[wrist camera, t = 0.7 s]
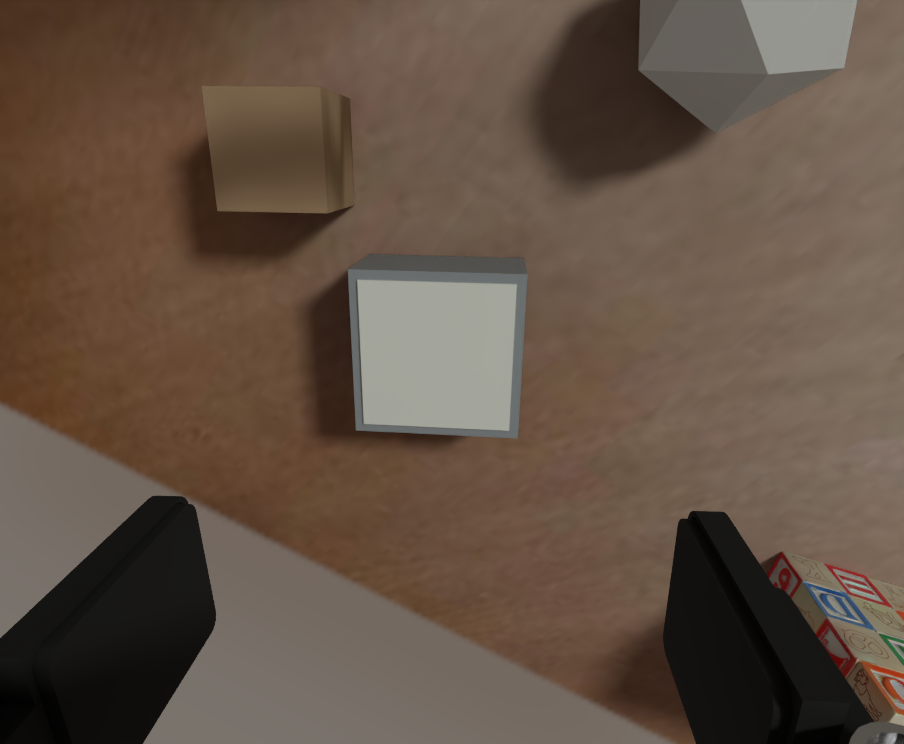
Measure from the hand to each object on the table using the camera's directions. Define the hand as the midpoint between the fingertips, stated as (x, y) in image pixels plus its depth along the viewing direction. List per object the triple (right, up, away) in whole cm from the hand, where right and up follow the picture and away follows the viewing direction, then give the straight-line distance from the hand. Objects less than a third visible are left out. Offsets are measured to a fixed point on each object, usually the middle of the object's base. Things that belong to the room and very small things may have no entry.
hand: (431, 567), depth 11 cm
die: (+13, +21, +17) cm, 30 cm away
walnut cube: (-8, +16, +21) cm, 28 cm away
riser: (0, +6, +24) cm, 24 cm away
